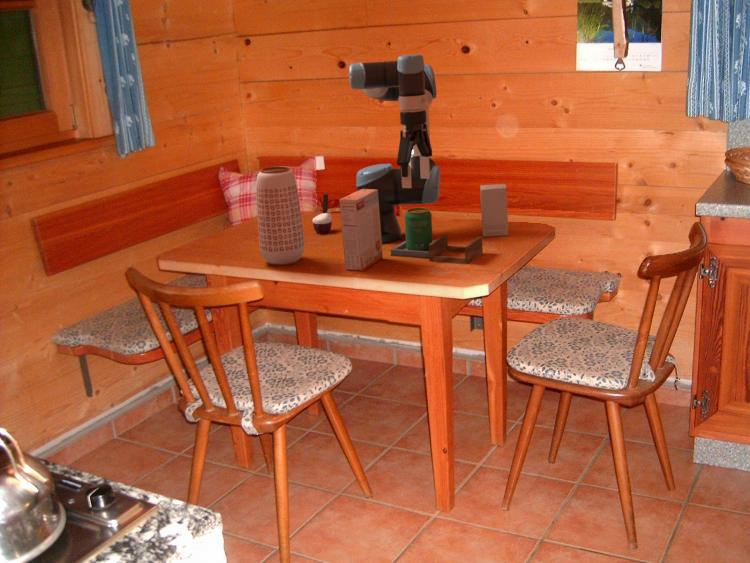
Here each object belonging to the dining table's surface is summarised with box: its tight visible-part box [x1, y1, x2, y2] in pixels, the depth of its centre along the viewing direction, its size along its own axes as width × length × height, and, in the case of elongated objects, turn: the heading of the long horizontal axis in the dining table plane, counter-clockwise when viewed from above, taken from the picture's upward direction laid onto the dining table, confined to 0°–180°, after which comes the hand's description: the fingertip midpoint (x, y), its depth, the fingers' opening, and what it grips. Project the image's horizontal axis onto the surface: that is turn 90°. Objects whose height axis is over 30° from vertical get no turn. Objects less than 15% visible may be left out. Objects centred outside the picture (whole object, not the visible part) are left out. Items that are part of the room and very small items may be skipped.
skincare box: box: [479, 183, 509, 238], centre depth 271 cm, size 8×7×16 cm
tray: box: [390, 239, 435, 259], centre depth 259 cm, size 13×13×2 cm
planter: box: [255, 165, 306, 267], centre depth 253 cm, size 13×13×28 cm
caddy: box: [428, 233, 484, 265], centre depth 250 cm, size 12×12×5 cm
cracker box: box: [338, 189, 384, 272], centre depth 247 cm, size 14×6×21 cm, turn 154°
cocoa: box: [312, 193, 333, 235], centre depth 288 cm, size 10×6×12 cm, turn 139°
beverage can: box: [404, 207, 433, 251], centre depth 258 cm, size 8×8×12 cm
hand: (416, 183), depth 253 cm, fingers open, 13 cm apart
